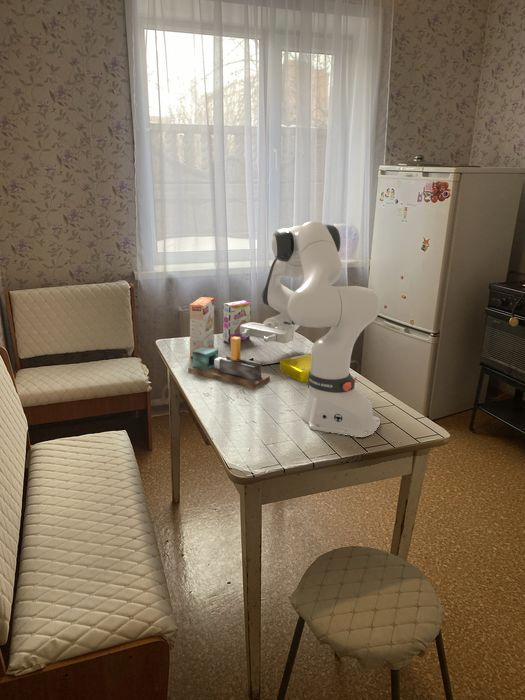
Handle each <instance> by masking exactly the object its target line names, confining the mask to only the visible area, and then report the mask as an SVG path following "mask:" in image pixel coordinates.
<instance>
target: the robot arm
mask: <svg viewBox="0 0 525 700" xmlns="http://www.w3.org/2000/svg"><path fill="white" fill-rule="evenodd" d="M341 238H342V237H341V235H340V232H339V229H338V228H337V227H336V226H335V225H331V224H324V223H322V222H321V221H318V220H310V221H307V222H305V223H304V224H302V225H300V224H299V225H294V226H292V227H287V228H286V227H283V228H279V229H278V230H276V231H274V233H273V235H272V239H271V249H272V253H273V255H274V260H273V262H272V263H271V266H270V269H269V272H268V276H267V280H266V283H265V286H264V287H263V290H262V292H261V299H262V302H263V304H264V305H265V306H268V307H270V308H272V309H274V310H275V311H277V312H279V314H277V315H274V316H271V317H269V318H266V319H265V320H264V321H263V322H262V323H259V322H254V321H253V322H251V321H250V322H249V323H245V324H242V325H240V334H241V335H242V337H245V338H246V337H248V336H250V338H251V337H252V338H255V339H261V340H263V342H266V343H269V342H276V343H281V344H287V343H290V342H292V341H294V336H295V331H297V329H299V327H300V326H301V327H306V328H329V327H330V329H328V332H327V333H325V334H324V335H323V336H321V337H320V338H319V339H317V340H316V341H315V342H314V343H313V345H312V346H311V349H310V350H311V353H310V354H311V368H310V370H309V376H308V382H307V387H308V391H307V398H306V401H305V405H304V409H303V410H302V411H303V412H302V416H301V417H302V419H303V420H304V421H305V422H306V423H307V425H308V427H309V429H311V430H314V431H319V432H325V433H329V432H331V433H330V434H334V433H339V434H338V435H340V434H347V435H353V436H366V435H368V434H371V433H372V432H373V431H375V430H376V429H377V427H378V426H379V425H380V426H381V420H380V418H379V417H378V416H376V415H374V411H373V403H371V401H370V400H369V399H368V398H367V397H366V396H364V394H362V393H361V392H360V390H358V389H357V388H356V386H355V383H356V382H357V381H358V376H355V377H353V376H352V375H351V372H350V367H351V358H352V353H353V349H354V346H355V343H356V341H357V340H358V337H359V336H360V335H361V334H362V332H363V331H364V329H365V328H367V326H368V325H370V324H371V323H373V322H374V321H375V320H376V319H377V317H378V315H379V313H380V309H381V308H380V307H381V305H380V304H381V303H380V302H381V301H380V298H379V296H378V294H377V293H376V291H375V290H374V289H372V288H369V287H366V286H365V287H364V286H360V285H359V286H358V285H344V286H343V285H342V286H341V285H340V286H335V285H334V284H335V283H336V282H337V281H338V280H339V279H340V277H341V276H342V273H343V264H342V261H341V258H340V254H339V252H340V250H341V242H342V239H341ZM283 276H285V277H287V278H292V279H293V278H301V277H303V281H302V283H301V285H300V286H299V288H296V290H292V289H289V287H287V286H284V284H282V282H281V279H282V277H283ZM333 285H334V286H333ZM375 421H377V422H375ZM365 432H367V433H365Z"/></svg>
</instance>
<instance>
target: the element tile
mask: <svg viewBox="0 0 525 700" xmlns="http://www.w3.org/2000/svg"><path fill="white" fill-rule="evenodd" d="M310 368H311V353H307V354H301V355H297V356H291V357H286V358H281V359H280V361H279V370H280V372H281V373H283V374H285V375H287V376H289V377H290V378H292V379H294V380H296V381H298V382H301V383H308V376H309V370H310Z"/></svg>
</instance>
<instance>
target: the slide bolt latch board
mask: <svg viewBox="0 0 525 700" xmlns="http://www.w3.org/2000/svg"><path fill="white" fill-rule="evenodd" d="M218 357H219V348H210V347H206V346H204V347H202V348H199V349H197V350H194V351H193V357H192V366H191V365H190V366H189V367H188V368H187V372H188V373H190V374H191V373H193V374H196V375H199V376H204V377H207V378H211V379H214V380H218V381H222V382H225V383H230V384H234V385H236V386H237V385H238V386H241V387H245V388H249V389H251V390H256V389H257V388H259V387H260V386H262V385H264V384H266V383H267V382H269V381H270V380H271V376H270V375H267V374H264V373H262V362H258V361H254V360H250V359H246V358H241V357H240V362H242V363H239V362H234V361H230V360H231V355H229V354H228V355H226V356H225V357H226V358H225V359H222V358H223V357H221V359H220V369H219V368H215V367H214V359H216V358H218ZM226 359H230V360H226ZM243 363H246V364H243ZM247 364H248V365H247Z"/></svg>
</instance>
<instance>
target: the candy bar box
mask: <svg viewBox="0 0 525 700" xmlns="http://www.w3.org/2000/svg"><path fill="white" fill-rule="evenodd" d="M251 308H252V302H250V301H247V300H239V301H233V302H232V301H231V302H226V303H223V309H222V310H223V311H222V314H223V318H222V319H223V320H222V321H223V322H222V323H223V326H222V327H223V329H222V341H223V340H224V341H223V342H225V341H226V342H225V343H227V342H228V343H227V344H231V338H232V337H240V338H241V342H242V340H243V341H247V340H250V338H251V336H248V337H246V338H245V337H242V335H241V334H240V325H242V324H245V323H249V322H251V310H252V309H251ZM246 339H247V340H246Z"/></svg>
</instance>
